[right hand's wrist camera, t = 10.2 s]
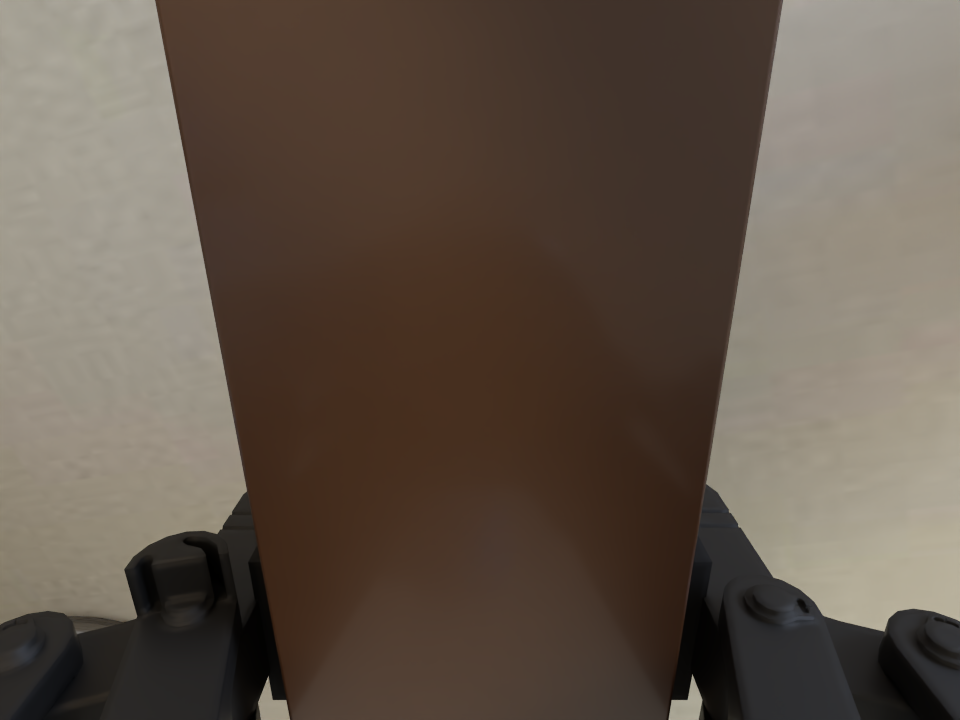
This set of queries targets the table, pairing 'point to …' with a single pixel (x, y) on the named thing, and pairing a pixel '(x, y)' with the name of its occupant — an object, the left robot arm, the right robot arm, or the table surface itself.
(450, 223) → the walnut beam
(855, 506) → the table surface
